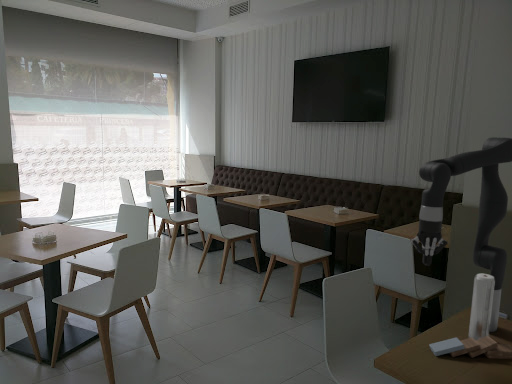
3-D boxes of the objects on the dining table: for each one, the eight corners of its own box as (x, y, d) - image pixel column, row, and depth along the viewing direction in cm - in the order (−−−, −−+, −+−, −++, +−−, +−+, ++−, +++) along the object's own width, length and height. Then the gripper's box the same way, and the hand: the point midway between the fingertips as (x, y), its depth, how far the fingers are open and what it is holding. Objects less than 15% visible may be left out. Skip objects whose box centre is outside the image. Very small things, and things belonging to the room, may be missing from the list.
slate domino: (430, 348, 141) (457, 341, 140) (435, 356, 136) (464, 348, 135) (428, 344, 141) (456, 337, 140) (434, 352, 136) (463, 344, 135)
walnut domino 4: (488, 355, 135) (517, 356, 135) (480, 347, 140) (508, 348, 140) (487, 359, 135) (516, 360, 135) (479, 351, 140) (507, 352, 140)
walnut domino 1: (451, 353, 135) (479, 344, 135) (444, 345, 140) (471, 337, 140) (452, 357, 135) (480, 348, 135) (445, 349, 140) (472, 341, 140)
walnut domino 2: (470, 354, 135) (496, 342, 135) (461, 346, 140) (487, 335, 140) (471, 358, 135) (498, 346, 135) (463, 350, 140) (488, 339, 140)
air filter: (488, 337, 149) (495, 274, 146) (488, 345, 144) (495, 280, 140) (468, 333, 152) (475, 271, 149) (468, 340, 147) (474, 276, 143)
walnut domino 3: (487, 350, 135) (516, 351, 135) (479, 343, 140) (507, 344, 140) (487, 355, 135) (516, 356, 135) (479, 347, 140) (507, 348, 140)
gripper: (416, 220, 137) (412, 267, 139) (454, 221, 136) (449, 268, 139) (408, 215, 144) (404, 261, 147) (444, 216, 144) (440, 262, 146)
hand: (426, 264), depth 143 cm, fingers closed
